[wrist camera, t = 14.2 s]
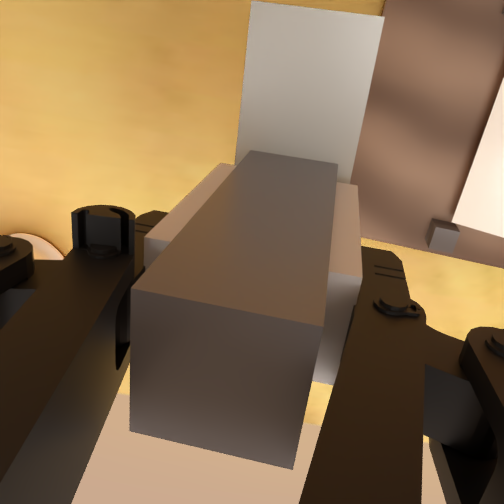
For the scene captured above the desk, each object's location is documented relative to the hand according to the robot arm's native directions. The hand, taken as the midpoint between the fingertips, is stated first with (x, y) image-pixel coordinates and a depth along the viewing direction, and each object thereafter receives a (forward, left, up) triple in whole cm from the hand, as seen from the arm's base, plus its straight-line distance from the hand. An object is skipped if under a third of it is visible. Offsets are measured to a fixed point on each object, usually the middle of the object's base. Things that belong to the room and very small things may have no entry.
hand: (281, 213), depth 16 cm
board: (-2, +10, -20) cm, 23 cm away
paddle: (0, 0, -4) cm, 4 cm away
